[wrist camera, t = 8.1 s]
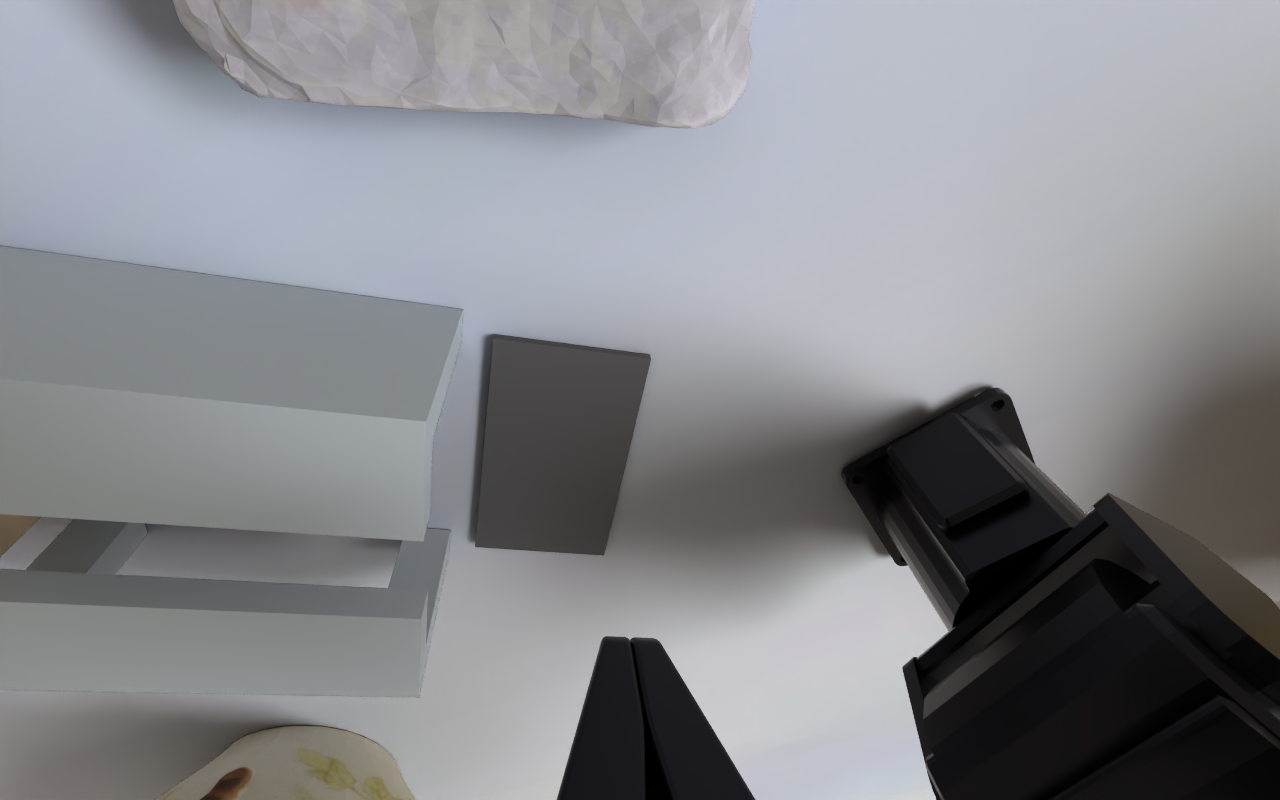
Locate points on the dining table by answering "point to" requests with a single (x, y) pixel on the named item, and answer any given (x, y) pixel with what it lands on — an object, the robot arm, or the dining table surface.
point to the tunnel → (214, 475)
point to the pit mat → (556, 444)
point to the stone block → (488, 54)
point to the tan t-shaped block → (13, 529)
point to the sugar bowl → (297, 769)
